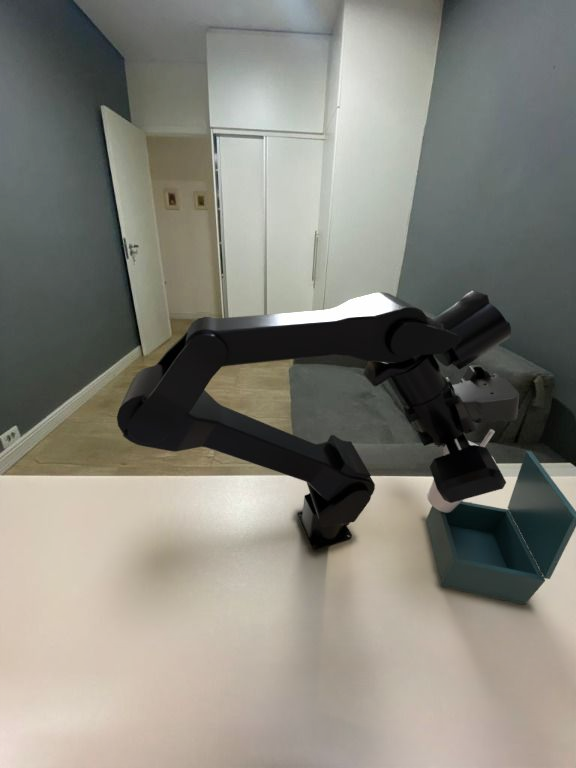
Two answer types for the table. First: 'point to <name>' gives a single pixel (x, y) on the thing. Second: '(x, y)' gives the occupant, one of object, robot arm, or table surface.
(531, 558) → the box
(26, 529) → the table surface
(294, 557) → the table surface
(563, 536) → the box lid
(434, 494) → the smoothie
